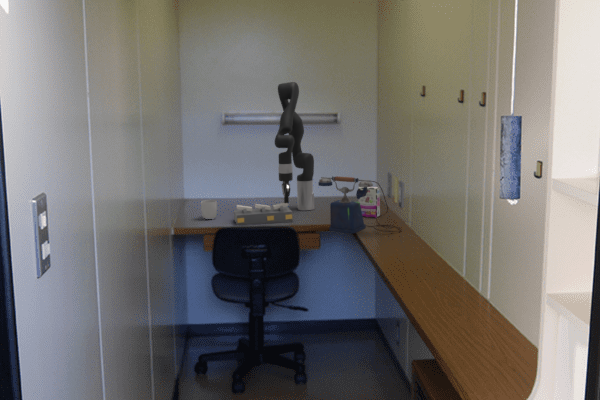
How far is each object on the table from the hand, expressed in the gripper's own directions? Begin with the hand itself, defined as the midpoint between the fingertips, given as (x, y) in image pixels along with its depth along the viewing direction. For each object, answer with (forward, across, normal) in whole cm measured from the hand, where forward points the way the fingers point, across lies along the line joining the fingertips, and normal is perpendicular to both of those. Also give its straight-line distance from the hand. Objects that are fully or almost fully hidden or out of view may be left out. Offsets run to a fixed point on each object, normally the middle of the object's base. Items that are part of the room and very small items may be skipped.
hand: (286, 203), depth 348 cm
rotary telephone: (+9, -37, -31) cm, 49 cm away
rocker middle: (+2, 0, +13) cm, 13 cm away
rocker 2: (+2, 0, +3) cm, 4 cm away
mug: (+9, +17, +41) cm, 46 cm away
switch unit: (+9, 0, +13) cm, 16 cm away
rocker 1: (+2, 0, +23) cm, 23 cm away
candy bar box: (+9, -8, -45) cm, 46 cm away
